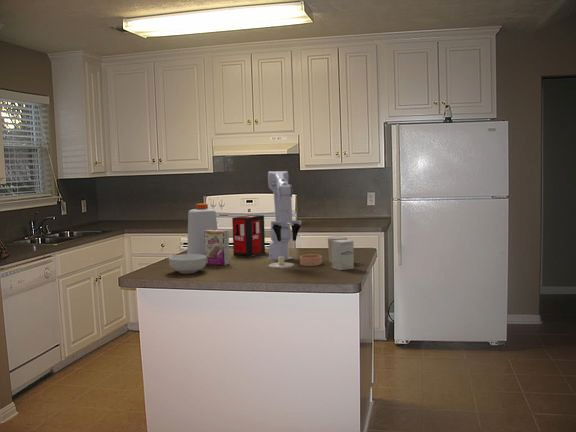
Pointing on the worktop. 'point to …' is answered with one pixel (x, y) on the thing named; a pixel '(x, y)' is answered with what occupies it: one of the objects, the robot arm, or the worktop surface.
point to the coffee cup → (331, 244)
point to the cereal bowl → (187, 263)
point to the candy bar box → (216, 247)
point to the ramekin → (310, 260)
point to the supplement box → (342, 254)
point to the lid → (281, 263)
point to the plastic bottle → (199, 227)
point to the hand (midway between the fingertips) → (286, 240)
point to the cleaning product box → (248, 235)
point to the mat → (280, 268)
